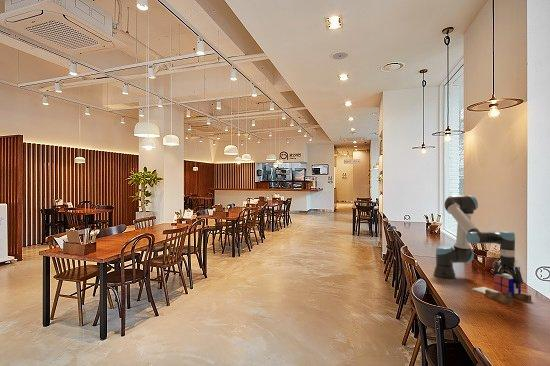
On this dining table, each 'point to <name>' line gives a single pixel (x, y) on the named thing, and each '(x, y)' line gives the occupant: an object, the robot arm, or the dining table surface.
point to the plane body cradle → (507, 296)
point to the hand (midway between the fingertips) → (507, 290)
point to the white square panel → (483, 289)
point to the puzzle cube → (505, 283)
